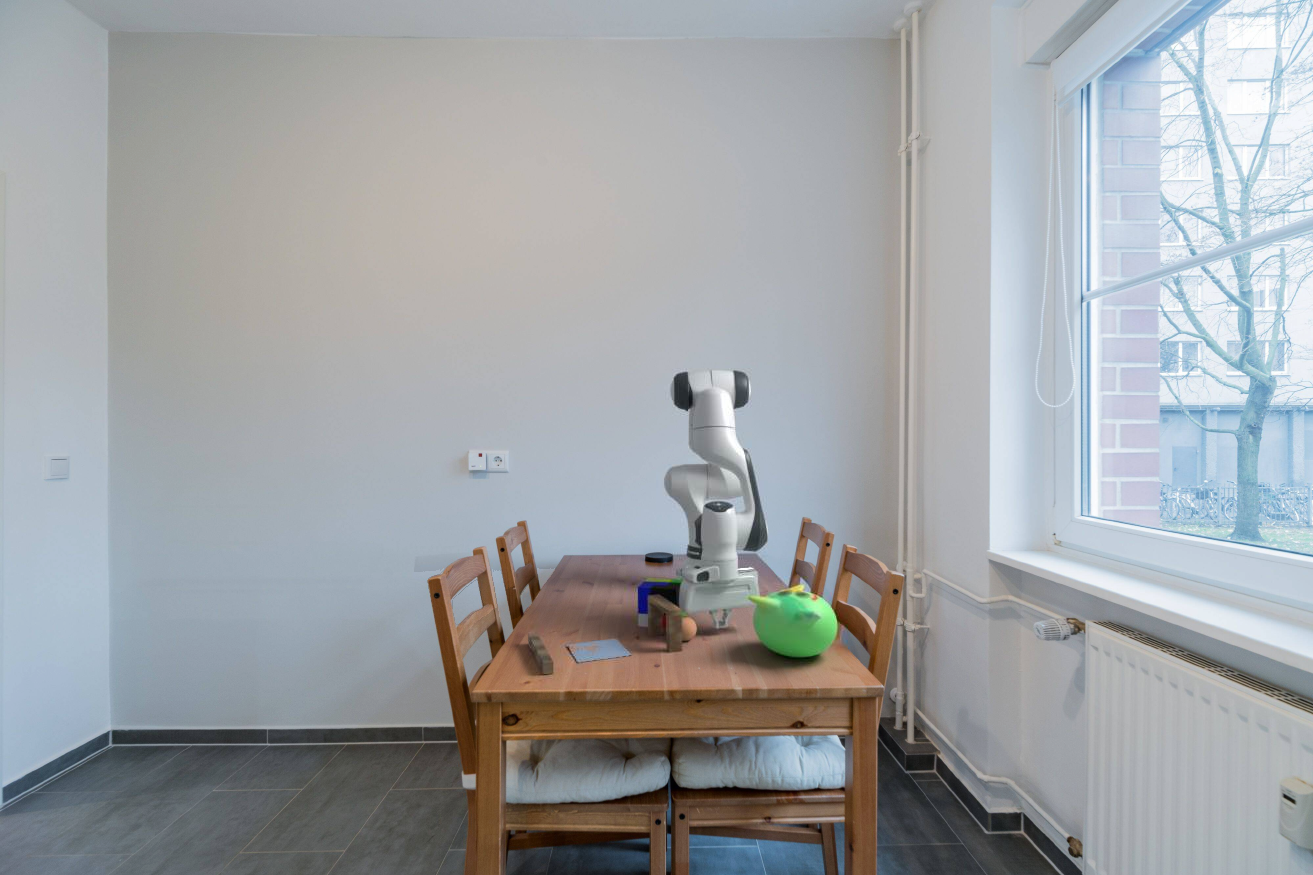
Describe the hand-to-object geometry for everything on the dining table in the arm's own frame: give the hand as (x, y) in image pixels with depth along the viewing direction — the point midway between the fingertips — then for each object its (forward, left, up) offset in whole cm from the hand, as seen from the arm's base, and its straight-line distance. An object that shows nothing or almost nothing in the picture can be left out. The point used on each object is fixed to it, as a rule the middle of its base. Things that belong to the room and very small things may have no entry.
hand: (720, 627), depth 154 cm
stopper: (0, -43, -2) cm, 43 cm away
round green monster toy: (+19, +9, -2) cm, 21 cm away
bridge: (0, -14, -2) cm, 15 cm away
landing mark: (0, -30, -2) cm, 30 cm away
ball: (+1, -9, +1) cm, 10 cm away
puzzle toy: (-15, -9, -2) cm, 18 cm away
